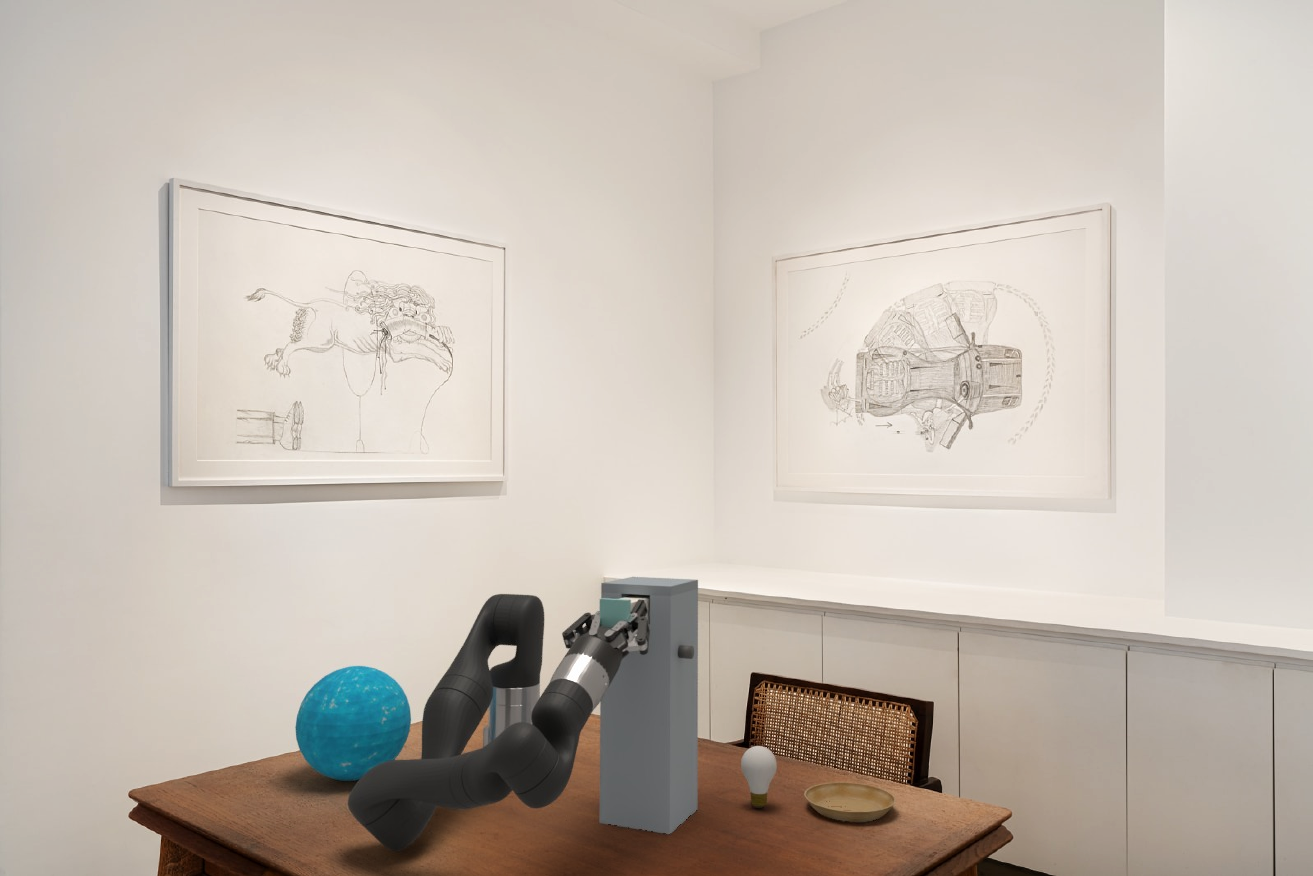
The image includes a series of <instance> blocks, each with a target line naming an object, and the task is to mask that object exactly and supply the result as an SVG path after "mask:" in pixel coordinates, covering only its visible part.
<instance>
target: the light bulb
mask: <svg viewBox="0 0 1313 876" xmlns="http://www.w3.org/2000/svg"><path fill="white" fill-rule="evenodd" d="M740 766H741V772H742V774H743V775H744V777H745V779H746V781H747V784H748V787H749V791H750V803H751V804H752V805H753V806H754V807H755V808H756V809H762V808H763V807H764V806H766V805H767V804H768V803H767V802H768V792H769V791H768V790H769V787H770V784H771V781H772V779H773V778H774V777H775V774H776V773H777V759H776V756H775V754H774V753H773V751H772V750H770V749H769V748H767V747H765V746H762V745H755V746H754V745H753V746H752V747H750V748H748V749H747V750H746V751H745V752H744V753H743V755H742V757H741V761H740Z"/></svg>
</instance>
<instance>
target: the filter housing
mask: <svg viewBox="0 0 1313 876" xmlns="http://www.w3.org/2000/svg"><path fill="white" fill-rule="evenodd" d="M600 587H601V588H600V589H601V591H600V593H601V598H600V599H602V598H616V599H620V598H624V597H628V596H632V595H636V594H638V595H650V624H648V625H649V629H650V637H649V648H648V653H647V654H645V655H641V654H640V651H631V652H629V654H628V655H627V656H625V657H624V658H623V659H622V660H621V663H620V667H619V669H618V671H617V673H616V675H615V677H614V678H613V680H612V682H611V684H610V685H609V687H608V689H607V691H606V692H605V694H604V696H603V698H602V699H601V701H600V703H599V705H600V708H599V709H600V715H599V717H600V718H599V719H600V721H599V722H600V723H599V730H600V731H599V813H598V814H599V818H598V819H599V821H598V822H599V824H603V825H608V824H611V825H610V826H614V825H617V826H616V827H621V828H627V829H628V827H629V829H633V830H634V829H635V830H639V829H642V830H641V831H645V830H647V831H646V832H651V831H653V833H658V834H663V833H666V834H665V835H669V834H670V833H671V834H673V832H674V831H675V830H676V829H678V828H679V827H680V826H681V825H682V824H683V823H685V821H687V820H686V819H689V818H690V817H691V816H692V815H693V814H694V813H696V812H697V811H698V797H699V796H698V791H699V790H698V774H699V773H698V772H699V771H698V769H699V768H698V765H699V764H698V760H699V759H698V754H699V753H698V751H699V749H698V747H699V745H698V744H699V743H698V741H699V740H698V739H699V737H698V735H699V727H698V726H699V725H698V721H699V718H698V717H699V716H698V715H699V714H698V712H699V711H698V710H699V708H698V707H699V706H698V705H699V703H698V701H699V695H698V693H699V692H698V691H699V690H698V689H699V686H698V685H699V683H698V680H699V665H698V664H699V657H698V656H699V580H698V579H694V578H693V579H691V578H688V579H687V578H669V577H667V578H666V577H646V576H629V577H624V578H619V579H615V580H610V581H603V582H601V586H600ZM637 632H638V631H637ZM637 632H636V633H635V634H637ZM635 634H634V635H635ZM634 635H633V638H635V637H634ZM632 640H633V639H632ZM696 810H697V811H696ZM690 815H691V816H690ZM689 816H690V817H689ZM688 817H689V818H688ZM680 824H681V825H680ZM679 825H680V826H679ZM678 826H679V827H678ZM677 827H678V828H677ZM671 834H670V835H671Z"/></svg>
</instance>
